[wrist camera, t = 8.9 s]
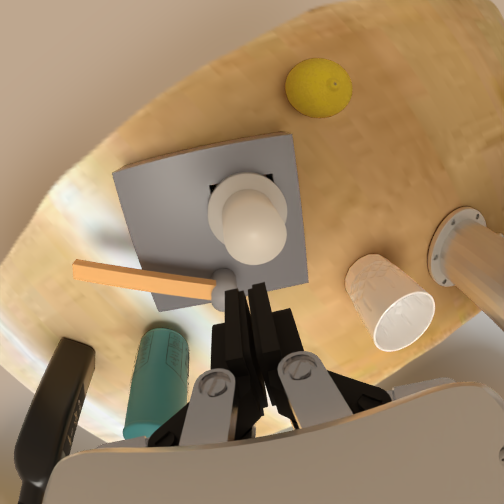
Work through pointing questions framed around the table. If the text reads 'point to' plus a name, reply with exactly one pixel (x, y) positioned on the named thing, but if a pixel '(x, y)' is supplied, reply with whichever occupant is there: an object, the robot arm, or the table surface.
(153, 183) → the dock
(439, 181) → the table surface
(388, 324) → the white cup
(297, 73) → the lemon
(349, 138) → the table surface
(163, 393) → the beverage bottle
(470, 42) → the table surface
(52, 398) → the wine bottle
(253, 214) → the plug
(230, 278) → the hammer
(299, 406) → the robot arm
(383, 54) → the table surface
